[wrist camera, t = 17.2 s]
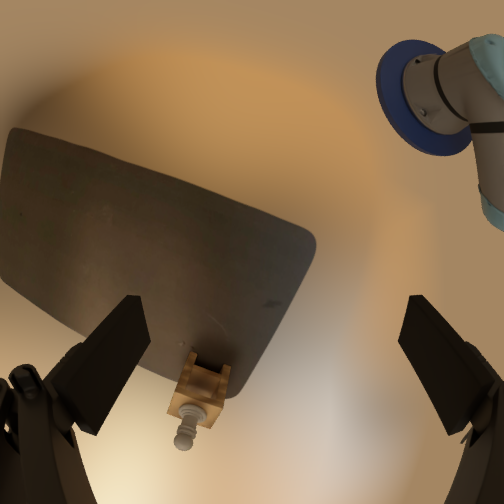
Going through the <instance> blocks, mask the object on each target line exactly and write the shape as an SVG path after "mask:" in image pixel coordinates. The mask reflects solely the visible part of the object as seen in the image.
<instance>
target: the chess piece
mask: <svg viewBox="0 0 504 504" xmlns="http://www.w3.org/2000/svg"><path fill="white" fill-rule="evenodd" d="M178 411H179V415H180V416H181V417H182V418H183V420H182V423H181V425H180V426H179V427H178V430H177V434H178V435H176V436H175V438H174V445H175V446H176V448H178V449H179V450H182V451H187V450H189V449H191V447H192V446H193V439H194V438H195V435H196V433H197V432H196V430H195V429H196V426H197V423H201V422H204V421H205V420H206V418H207V414H206V412H205V411H204V410H203V409H202V408H200V407H198V406H196V405H192V404H185V405H182V406H180V408H179V410H178Z"/></svg>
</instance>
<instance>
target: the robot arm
mask: <svg viewBox="0 0 504 504" xmlns="http://www.w3.org/2000/svg"><path fill="white" fill-rule="evenodd" d="M400 83H401V91H402V95H403V99H404V101H405V103H406V106H407V108H408V109H409V111H410V113H411V114H412V115H413V117H414V118H415V119H416V120H417V121H418V123H419V124H421V125H422V126H423V127H424V128H426V129H427V130H429V131H431V132H433V133H435V134H439V135H452V134H456V133H458V132H460V131H461V130H463V129H464V128H465V127H466V126H468V125H469V126H470V131H471V136H472V141H473V146H474V151H475V158H476V164H477V171H478V179H479V184H478V188H479V192H480V194H481V203H482V210H483V213H484V215H485V216H486V218H487V220H488V221H489V222H490V223H491V224H492V225H493V226H495V227H496V228H498V229H500V230H501V231H503V232H504V37H502V36H500V35H496V34H487V35H484V36H481V37H476V38H472V39H471V40H470V41H468V42H466V43H464V44H462V45H460V46H458V47H456V48H454V49H453V50H450V51H449V52H447V53H445V54H443V55H432V54H428V55H420V56H417V57H415V58H413V59H412V60H410V61H409V62H408V63H407V64H406V65H405V66H404V68H403V70H402V73H401V81H400ZM150 342H151V340H150V336H149V332H148V328H147V324H146V320H145V315H144V311H143V306H142V302H141V297H140V296H134V295H127V296H126V297H125V298H124V299H123V300H122V301H121V302H120V303H119V304H118V305H117V306H116V307H115V308H114V309H113V310H112V312H111V313H110V314H109V315H108V316H107V317H106V318H105V319H104V320H103V321H102V322H101V323H100V324H99V326H98V327H97V328H96V329H95V330H94V331H93V332H92V333H91V334H90V335H89V337H88V338H87V339H86V340H85V341H84V342H83V343H81V342H80V343H78V344H77V345H75V346H73V347H72V348H71V349H70V350H69V351H68V352H67V353H66V354H65V357H63V358H62V359H61V360H60V362H58V363H57V364H56V366H55V367H54V368H53V369H52V370H51V371H50V372H49V374H48V375H47V376H46V377H45V378H44V379H43V381H42V379H41V378H40V376H39V374H38V372H37V371H36V368H35V367H34V366H33V365H30V364H22V365H20V366H17V367H16V368H14V369H13V370H12V371H11V373H10V374H9V377H8V379H9V380H10V382H11V384H12V386H13V387H14V389H12V388H10V386H9V385H8V383H7V381H6V380H4V379H3V378H0V504H97V502H96V499H95V497H94V494H93V492H92V489H91V486H90V484H89V481H88V478H87V475H86V472H85V469H84V465H83V462H82V459H81V455H80V452H79V448H78V444H77V440H76V436H75V432H74V430H73V428H72V425H73V424H74V422H76V424H77V425H78V427H79V428H80V430H81V431H84V432H86V433H89V434H92V435H94V436H97V434H98V432H99V430H100V428H101V426H102V425H103V423H104V421H105V419H106V417H107V416H108V414H109V412H110V410H111V408H112V407H113V405H114V403H115V401H116V399H117V398H118V396H119V394H120V393H121V391H122V389H123V387H124V386H125V384H126V382H127V381H128V379H129V377H130V375H131V374H132V372H133V370H134V369H135V367H136V365H137V364H138V362H139V360H140V359H141V357H142V355H143V354H144V352H145V350H146V349H147V347H148V345H149V344H150ZM398 342H399V344H400V346H401V348H402V349H403V351H404V353H405V354H406V356H407V358H408V360H409V361H410V363H411V365H412V366H413V368H414V370H415V372H416V374H417V375H418V377H419V379H420V381H421V383H422V385H423V386H424V388H425V390H426V392H427V394H428V396H429V398H430V400H431V402H432V403H433V405H434V407H435V409H436V411H437V413H438V415H439V417H440V419H441V421H442V423H443V426H444V428H445V430H446V432H447V434H448V435H449V436H450V435H453V434H455V433H458V432H460V431H463V429H464V428H465V427H466V425H467V424H468V423H469V421H470V422H471V423H472V425H473V426H472V428H471V429H470V430H469V432H468V433H467V434H466V435H465V437H464V438H463V439H462V441H461V444H462V443H463V442H464V441H465V440H466V439H467V441H466V444H465V448H464V452H463V455H462V458H461V461H460V465H459V467H458V470H457V473H456V476H455V478H454V481H453V484H452V486H451V489H450V491H449V494H448V496H447V498H446V500H445V503H444V504H504V381H503V380H502V379H501V378H500V376H499V375H498V374H497V373H496V371H495V370H494V369H493V368H492V366H491V365H490V364H489V363H488V361H487V362H486V359H485V358H484V357H483V356H482V355H481V353H480V352H479V350H478V349H477V348H476V347H475V346H473V345H472V344H470V343H469V342H467V341H466V342H464V340H463V339H462V338H461V337H460V336H459V335H458V333H457V332H456V331H455V330H454V329H453V328H452V327H451V326H450V324H449V323H448V322H447V321H446V320H445V319H444V318H443V317H442V316H441V314H440V313H439V312H438V311H437V310H436V309H435V308H434V307H433V306H432V305H431V304H430V303H429V302H428V300H427V299H426V298H425V297H424V296H423V295H412V296H409V301H408V305H407V309H406V313H405V317H404V321H403V325H402V328H401V332H400V336H399V339H398ZM5 423H6V424H7V426H8V427H9V431H8V432H6V430H5V429H4V427H5Z"/></svg>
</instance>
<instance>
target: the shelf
mask: <svg viewBox="0 0 504 504" xmlns="http://www.w3.org/2000/svg"><path fill="white" fill-rule="evenodd" d="M196 357H197V354H196V353H194V352H191V351H190V353H189V356H188V358H187V361H186V363H185V366H184V368H183V371H182V373H181V376H180V379H179V381H178V384H177V386H176V389H175V392H174V394H173V397H172V400H171V403H170V406H169V409H168V411H167V414H169V415H172V416H175V417H177V418H180V419H182V420H183V418H182V417H181V416H180V415H179V411H178V410H179V408H180V406H182V405H185V404H192V405H196V406H198V407H200V408H202V409H203V410H204V411H205V412H206V414H207V418H206V420H205V421H204V422H201V423H197V425H199V426H203V427H206V428H209V429H211V427H212V426H213V424H214V422H215V421H216V419H217V418H218V416H219V414H220V413H221V411H222V409H223V406H224V400H225V395H226V390H227V385H228V380H229V374H230V369H231V366H228V365H226V364H224V365H223V367H222V369H221V371H220V373H219V374H218V373H215V372H213V371H210V370H207V369H205V368H202V367H199V366H197V365H194V363H195V360H196Z"/></svg>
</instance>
